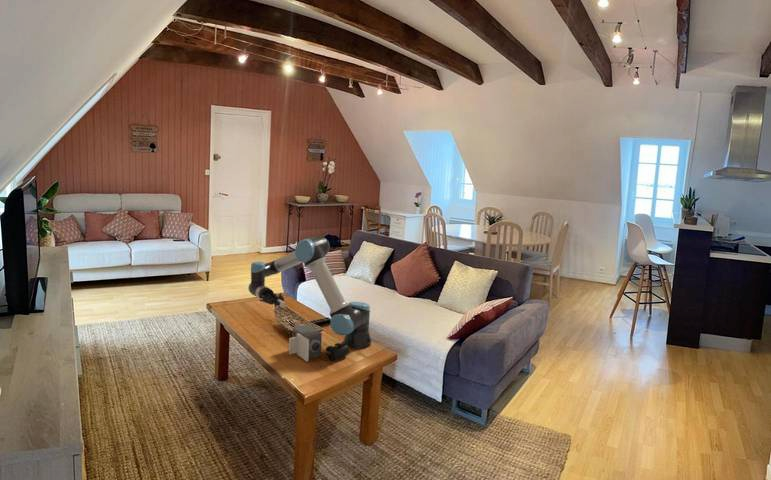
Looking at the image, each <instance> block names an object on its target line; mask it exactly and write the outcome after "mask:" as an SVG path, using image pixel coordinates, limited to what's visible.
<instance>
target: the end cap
mask: <svg viewBox="0 0 771 480" xmlns="http://www.w3.org/2000/svg"><path fill="white" fill-rule="evenodd" d="M349 348H350V347H348V346H347V345H346V344H344V343H341V342H340V343H339V342H338V343H334V346H332V345H329V346H326V348H325V351H326V353H325V357H326V358H325V359H326V360H328V361H330V362H333V361H337V360H339V359H342V358H344V357H346V356H347V355H349V353H350V349H349Z"/></svg>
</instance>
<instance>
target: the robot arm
mask: <svg viewBox="0 0 771 480" xmlns="http://www.w3.org/2000/svg"><path fill="white" fill-rule="evenodd" d="M330 247H331V246H330V242H329V240H328V239H327V238H325V237H323V236H322V235H321V236H320V235H317V236H312V237H308V238H304V239H302V240H299V241H298V242H297V244H296V246H295V248H294V251H292V252H290V253H287V254H285V255H283V256H281V257H278V258H276V259H274V260H272V261H271V262H266V263H265V262H263V261H254V262H252V263H251V265H250V282H249V284H248V292H249V293H250V294H251V295H253V296H255V297H256V298H258V299H259V302H263V303H265V304H269V305H272V306H273V305H274V307H277V306H279V307H280V308H282V309H284V308H286V302H285V298H284V296H283V293H281V292H280V293H278V294H277V293H275V292H274V290H272V288H270V287H267V286H266V285H265V283H266V282H265V281H266V278H267V277H270V276H274V275H277V274H279V273H281V272H283V271H286V270H287V269H290V268H292V267H295V266H297V265H299V264H301V263H304V266H305V268H307V269H310V271H311V274H312V275H313V278H314V280H315V281H316V283H317V285H318V287H319V289H320V291H321V293H322V295H323V298H324V299H325V301H326V304H327V306H328V307H329V310H330V311H329V316H330V323H329V325H330V328H331V330H332V331H333V332H334V333H335V334H336V335H339V336H344V338H343V344H346V345H347V346H348V348H350V349H357V350H358V349H359V350H361V349H366V348H369V347H370V346H371V345H372V338H371V333H370V315H371V314H370V313H371V310H370V309H371V306H370V304H369V303H367V302H362V301H350V302H349V303H348V302H347V301H346V300H345V299H344V296H343V295H342V293H341V291H340V289H339V287H338V285H337V283H336V281H335V279H334V277H333V275H332V272H331V271H330V269H329V267H328V265H327V262H326V260H327V255H328V253H329V251H330Z"/></svg>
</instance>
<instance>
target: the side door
mask: <svg viewBox="0 0 771 480" xmlns="http://www.w3.org/2000/svg"><path fill="white" fill-rule="evenodd" d="M288 354H289V355H293V354H296V355H297V356H299V357H300V358H301V359H302V360H304V361H305V362H309V359H310V358H309V340H308V339H307V338H306V337H304V336H303V335H301V334H300V333H299V334H297V337H293V336H292V337H289V338H288Z"/></svg>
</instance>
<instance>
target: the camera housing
mask: <svg viewBox="0 0 771 480" xmlns="http://www.w3.org/2000/svg"><path fill="white" fill-rule="evenodd" d="M299 333H300V334H301V335H303V336H304V337H306V338H307V339H308V340H309V359H311V358H316V357H319V356H321V355H322V339H323V337H322V336H323V335H322V334H323V332H321V331H320V330H318V329H316V328H314V327H313V326H311V325H310V324H304V325H299V326H293V327H292V338H293V337H297V334H299Z"/></svg>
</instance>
